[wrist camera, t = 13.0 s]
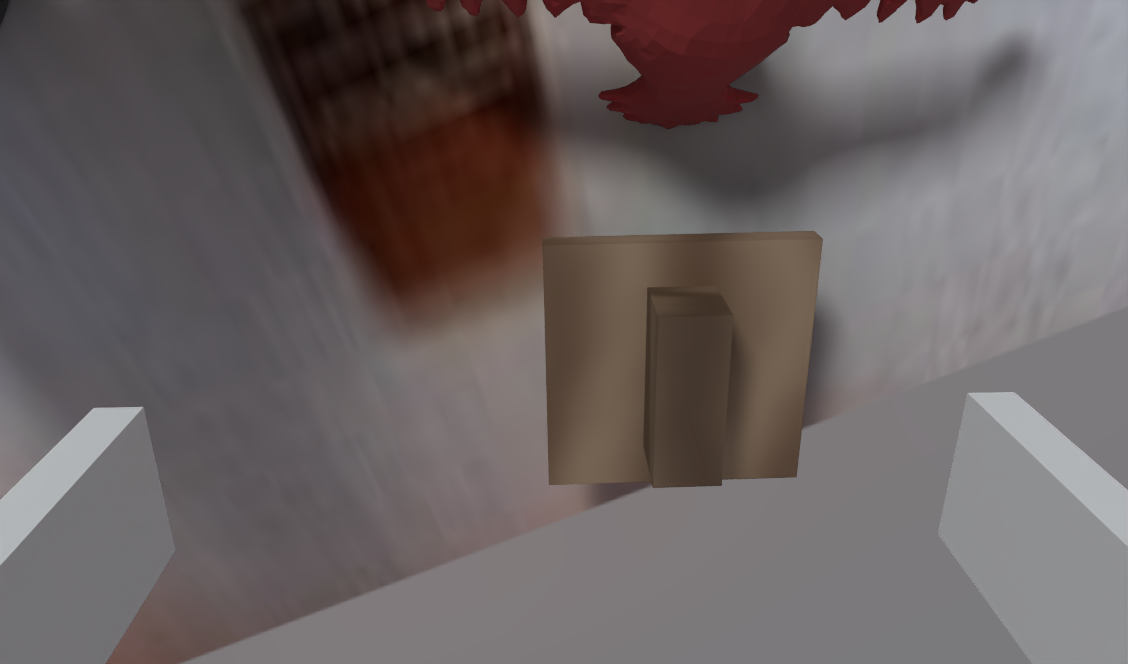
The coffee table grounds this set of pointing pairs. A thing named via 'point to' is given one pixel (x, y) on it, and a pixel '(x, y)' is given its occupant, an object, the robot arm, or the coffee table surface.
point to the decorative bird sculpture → (700, 46)
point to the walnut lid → (677, 355)
